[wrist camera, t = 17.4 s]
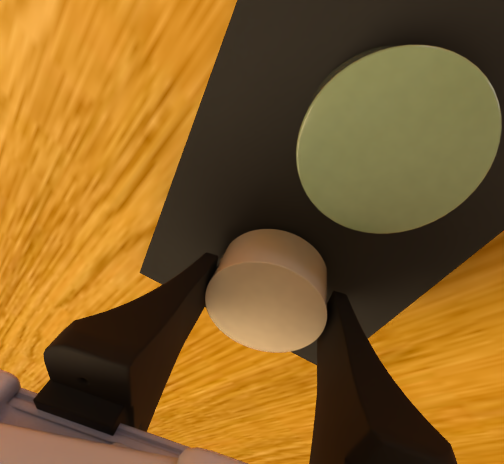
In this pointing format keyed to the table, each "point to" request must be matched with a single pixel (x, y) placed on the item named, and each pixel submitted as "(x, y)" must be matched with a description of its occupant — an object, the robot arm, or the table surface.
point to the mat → (285, 141)
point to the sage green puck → (398, 138)
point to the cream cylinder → (269, 291)
